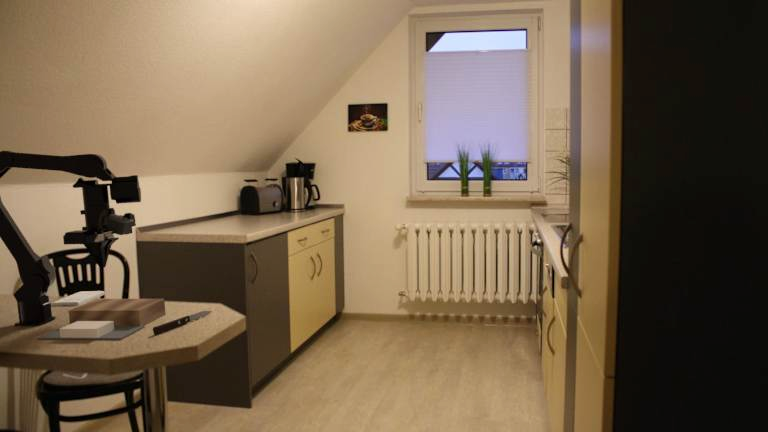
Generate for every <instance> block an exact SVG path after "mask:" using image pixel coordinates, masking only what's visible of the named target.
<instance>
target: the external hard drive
mask: <svg viewBox="0 0 768 432" xmlns="http://www.w3.org/2000/svg"><path fill="white" fill-rule="evenodd" d="M105 294H106V292H105V291H104V290H92V291H91V290H89V291H87V290H86V291H78V292H74V293H73V294H70V295H68V296H65V297H63V298H61V299H58V300H56V301H53V302H50V303H51V307H60V306H61V307H62V306H64V307H65V306H69V307H72V306H73V307H74V306H77V307H78V306H82V305H84V304H87V303H89V302H92V301H94V300H96V299H99V298H100V297H102V296H103V297H104V296H105Z"/></svg>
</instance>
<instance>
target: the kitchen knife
mask: <svg viewBox="0 0 768 432" xmlns="http://www.w3.org/2000/svg"><path fill="white" fill-rule="evenodd" d="M212 312H213V311H212V310H201V311H198V312H196V313H193V314H189V315H185V316H183V317H180V318H177V319H174V320H172V321H168V322H165V323H162V324H160V325H156V326H154V327H152V332H153V335H154V336H159V335H160V334H162V333H164V332H169V331H172V330H175V329H178V328H179V326H180V327H182V326H184V325H186V324H189V323H188V322H190V323H192V322H194V321H193V320H195V321H197V320H196V319H198V318H200V317H203V316H205V317H207V316H208V315H210V314H211V313H212ZM206 315H207V316H206ZM203 318H204V317H203ZM200 319H201V318H200ZM198 320H199V319H198ZM191 321H192V322H191ZM177 327H178V328H177Z"/></svg>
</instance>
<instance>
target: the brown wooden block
mask: <svg viewBox="0 0 768 432" xmlns="http://www.w3.org/2000/svg"><path fill="white" fill-rule="evenodd" d="M165 304H166V301H165V298H96V299H93V300H91V301H88V302H86V303H83V304H81V305H78V306H77V307H74V308H71V309H68V318H69V324H72V323H74V322H77V321H114V326H144V327H145V326H146V325H149V324H150V323H152V322H154V321H156V320H157V319H160V318H162V317H163V316H164V317H165V316H166V305H165Z"/></svg>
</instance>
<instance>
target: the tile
mask: <svg viewBox="0 0 768 432" xmlns="http://www.w3.org/2000/svg"><path fill="white" fill-rule="evenodd" d="M64 326H65V327H64ZM64 326H63V327H60V328H58V329H59V330H60V338H98V337H100V336H103V335H105V334H107V333H109V332H111V331H113V330H114V321H77V322H74V323H72V324H70V323H69V324H67V325H64Z"/></svg>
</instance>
